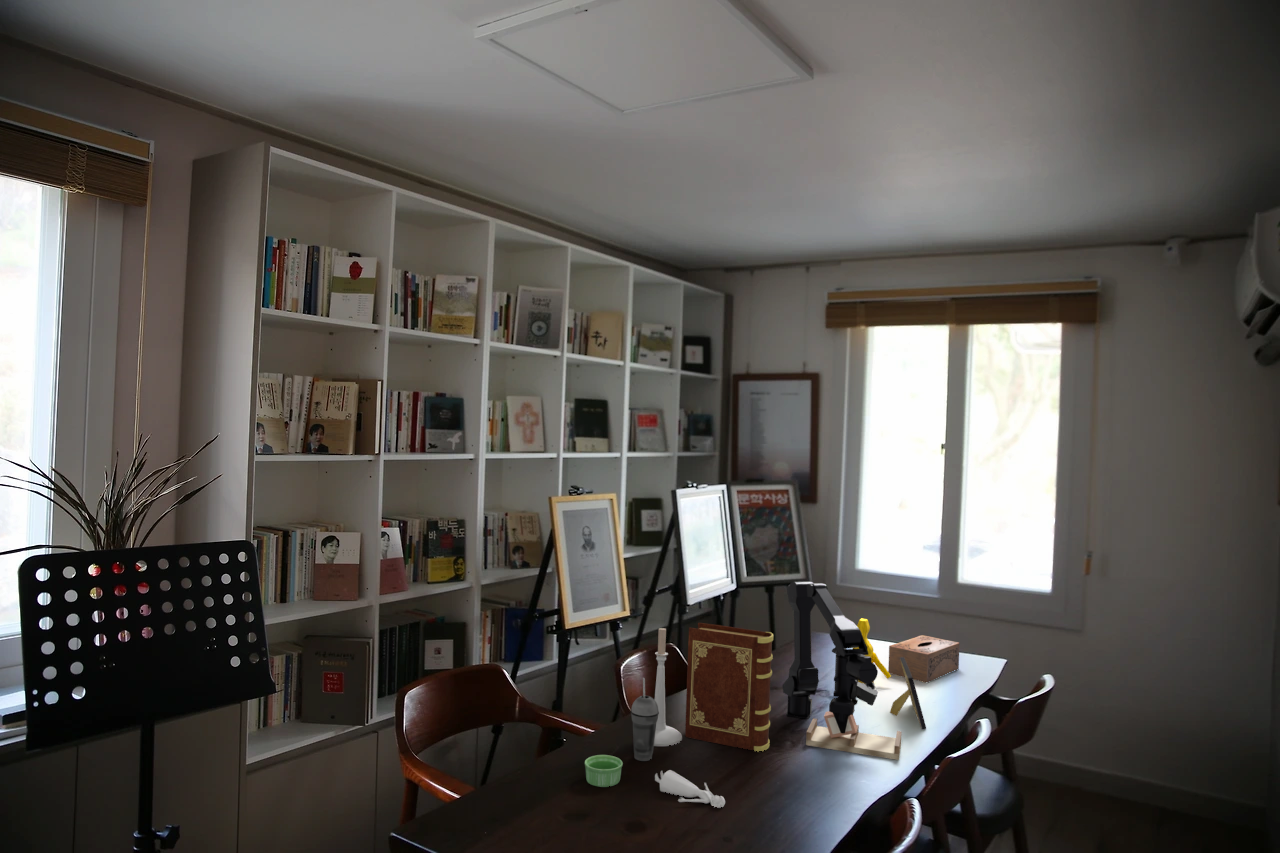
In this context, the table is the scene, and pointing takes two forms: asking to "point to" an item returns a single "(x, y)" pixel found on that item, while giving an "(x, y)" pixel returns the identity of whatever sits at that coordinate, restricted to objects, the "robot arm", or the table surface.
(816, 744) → the ledge
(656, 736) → the candlestick
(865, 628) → the figure statuette
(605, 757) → the ramekin
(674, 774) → the woman figurine
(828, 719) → the frame block
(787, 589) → the robot arm
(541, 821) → the table surface
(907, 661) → the tissue box cover
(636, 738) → the beverage cup
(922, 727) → the picture frame
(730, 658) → the decorative book
